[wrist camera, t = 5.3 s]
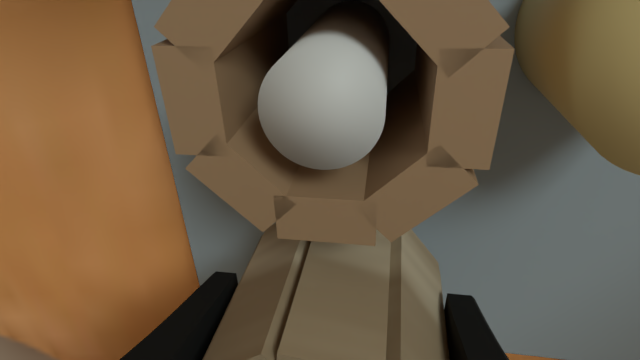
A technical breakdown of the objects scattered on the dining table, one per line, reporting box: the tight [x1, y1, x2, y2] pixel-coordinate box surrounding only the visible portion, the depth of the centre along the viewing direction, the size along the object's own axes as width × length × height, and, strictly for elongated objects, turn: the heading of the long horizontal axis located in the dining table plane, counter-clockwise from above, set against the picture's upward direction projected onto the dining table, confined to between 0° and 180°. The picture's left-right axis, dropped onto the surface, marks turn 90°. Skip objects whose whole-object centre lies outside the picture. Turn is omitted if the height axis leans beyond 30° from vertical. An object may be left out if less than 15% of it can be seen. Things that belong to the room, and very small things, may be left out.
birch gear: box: [202, 223, 450, 360], centre depth 11 cm, size 5×5×5 cm
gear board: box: [132, 0, 640, 360], centre depth 10 cm, size 20×16×7 cm
